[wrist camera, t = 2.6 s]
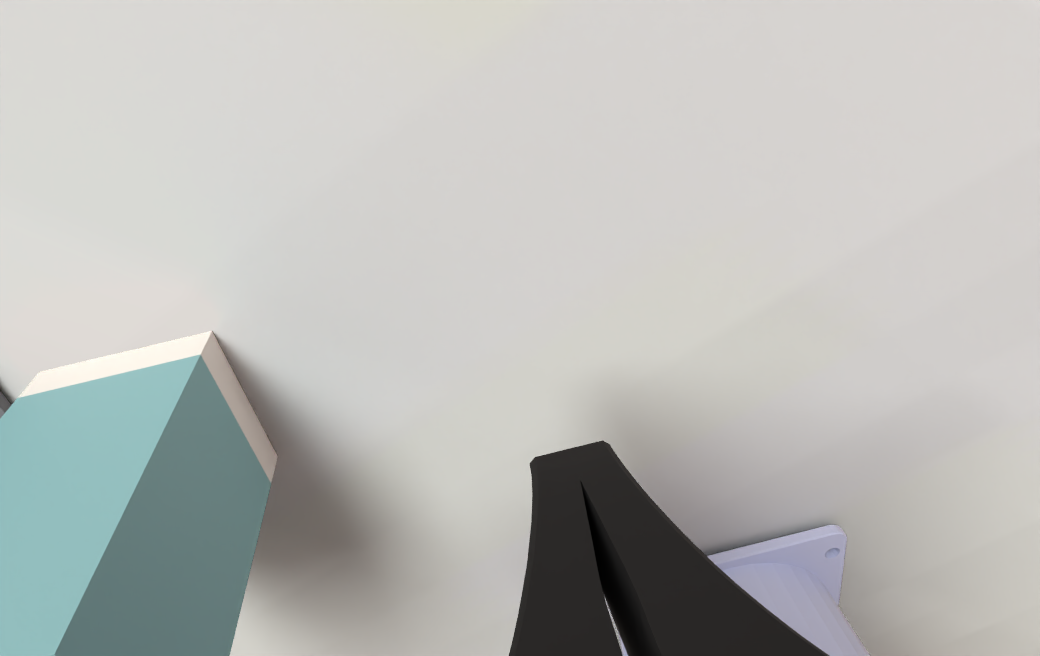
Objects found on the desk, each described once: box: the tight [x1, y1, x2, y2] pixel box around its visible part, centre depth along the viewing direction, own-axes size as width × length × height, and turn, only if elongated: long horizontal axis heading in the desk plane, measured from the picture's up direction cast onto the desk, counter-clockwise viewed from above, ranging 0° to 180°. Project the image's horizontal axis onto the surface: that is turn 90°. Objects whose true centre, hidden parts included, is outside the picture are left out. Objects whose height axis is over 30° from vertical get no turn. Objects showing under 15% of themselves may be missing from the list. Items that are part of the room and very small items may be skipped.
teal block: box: [0, 331, 278, 656], centre depth 13 cm, size 4×4×8 cm
